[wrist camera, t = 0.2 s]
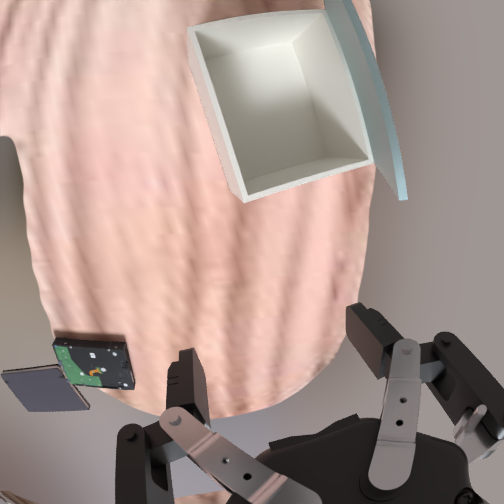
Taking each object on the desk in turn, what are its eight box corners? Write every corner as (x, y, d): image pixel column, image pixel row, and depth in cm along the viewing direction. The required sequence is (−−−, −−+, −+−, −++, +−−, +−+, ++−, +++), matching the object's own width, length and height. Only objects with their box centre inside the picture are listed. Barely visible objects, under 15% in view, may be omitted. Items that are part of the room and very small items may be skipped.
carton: (188, 62, 32) (187, 27, 21) (292, 41, 34) (325, 9, 22) (229, 190, 40) (244, 203, 28) (329, 159, 41) (374, 163, 30)
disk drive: (126, 339, 45) (55, 335, 41) (123, 348, 42) (50, 344, 39) (136, 380, 48) (70, 376, 45) (135, 390, 45) (67, 385, 42)
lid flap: (308, -60, 9) (316, -61, 9) (325, 10, 23) (330, 9, 22) (399, 200, 16) (407, 199, 16) (373, 162, 30) (378, 161, 30)
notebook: (30, 407, 45) (90, 404, 48) (28, 411, 44) (89, 409, 46) (1, 370, 41) (60, 363, 43) (-1, 374, 39) (57, 367, 42)
